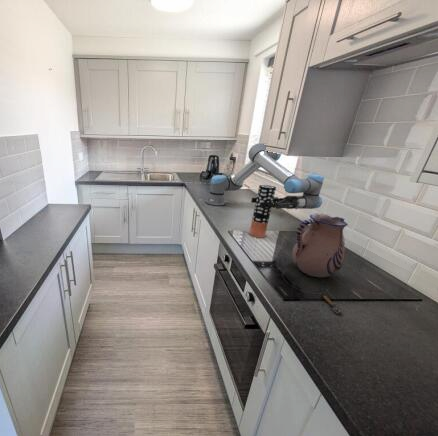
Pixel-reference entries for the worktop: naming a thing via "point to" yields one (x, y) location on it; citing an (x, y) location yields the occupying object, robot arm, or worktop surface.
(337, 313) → the can opener
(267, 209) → the spotted tube
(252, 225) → the cup
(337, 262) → the ceramic pitcher
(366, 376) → the worktop surface
